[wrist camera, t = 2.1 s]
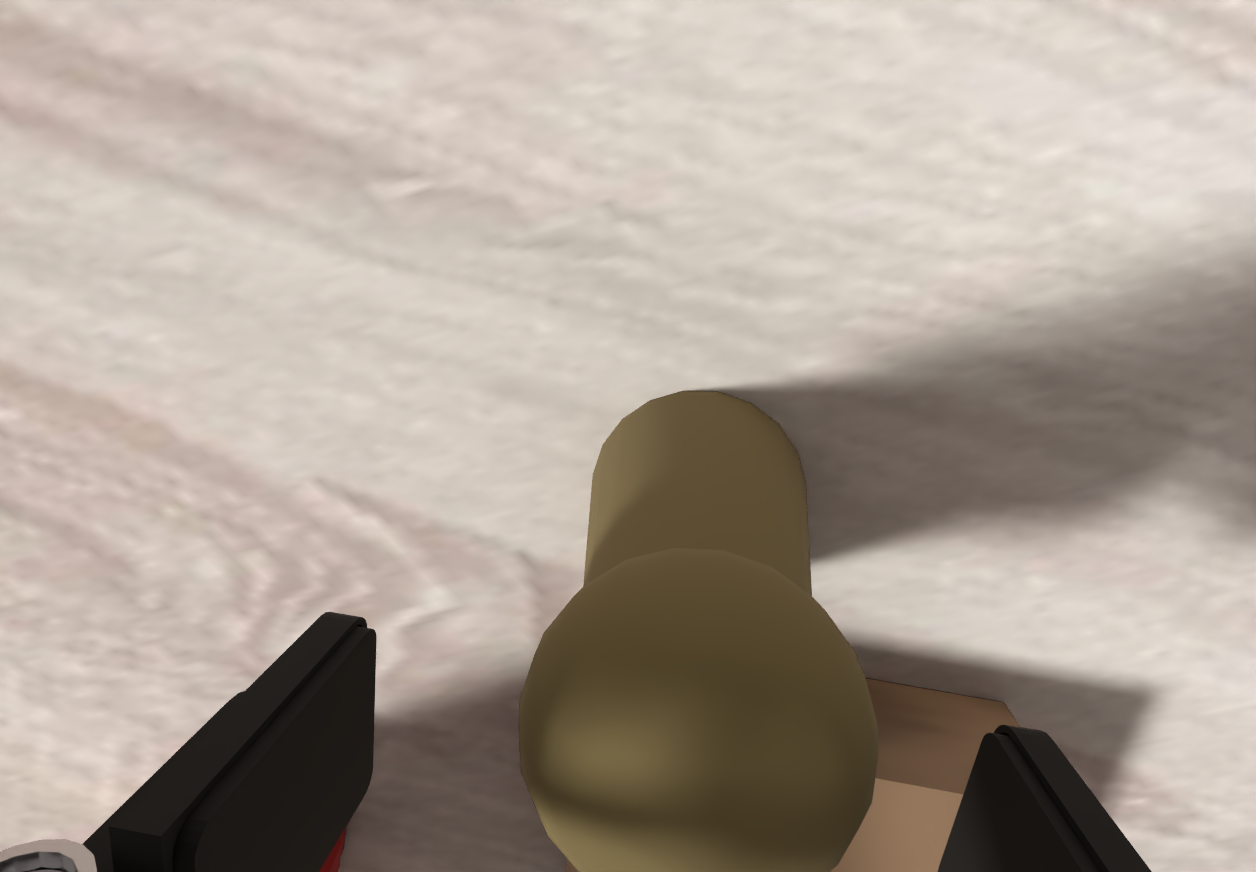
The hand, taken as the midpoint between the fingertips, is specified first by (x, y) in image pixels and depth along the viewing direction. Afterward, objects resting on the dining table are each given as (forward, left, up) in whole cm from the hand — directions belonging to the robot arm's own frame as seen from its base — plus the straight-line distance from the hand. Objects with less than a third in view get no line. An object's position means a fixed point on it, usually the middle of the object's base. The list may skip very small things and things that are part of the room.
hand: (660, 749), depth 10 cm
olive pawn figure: (0, -1, -10) cm, 10 cm away
